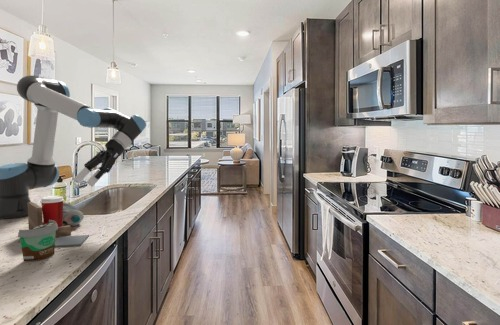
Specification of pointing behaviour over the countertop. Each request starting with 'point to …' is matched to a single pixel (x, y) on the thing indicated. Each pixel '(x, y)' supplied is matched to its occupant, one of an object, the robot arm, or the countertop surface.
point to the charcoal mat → (70, 240)
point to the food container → (38, 241)
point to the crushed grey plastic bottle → (72, 214)
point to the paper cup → (52, 209)
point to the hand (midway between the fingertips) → (82, 182)
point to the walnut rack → (37, 219)
